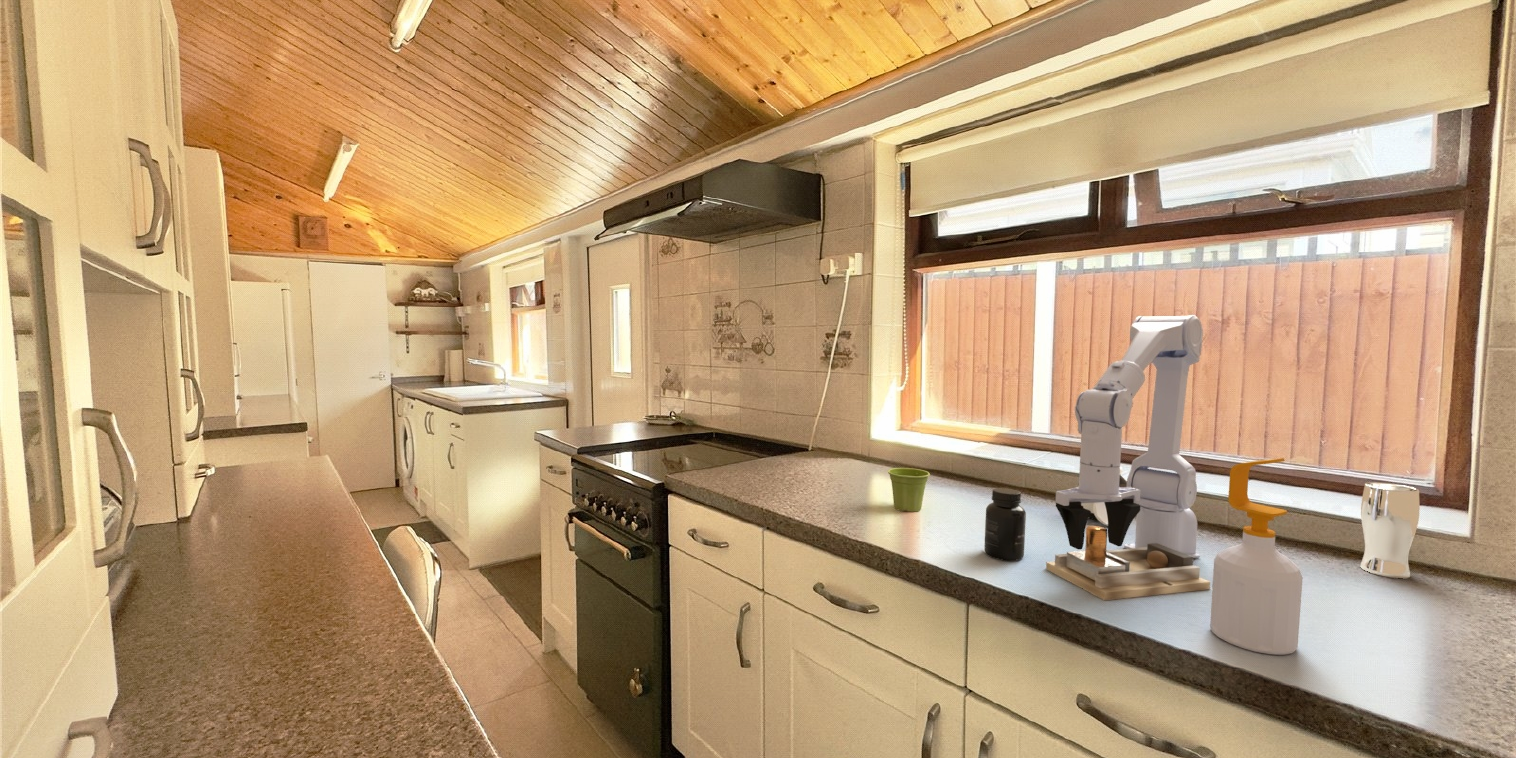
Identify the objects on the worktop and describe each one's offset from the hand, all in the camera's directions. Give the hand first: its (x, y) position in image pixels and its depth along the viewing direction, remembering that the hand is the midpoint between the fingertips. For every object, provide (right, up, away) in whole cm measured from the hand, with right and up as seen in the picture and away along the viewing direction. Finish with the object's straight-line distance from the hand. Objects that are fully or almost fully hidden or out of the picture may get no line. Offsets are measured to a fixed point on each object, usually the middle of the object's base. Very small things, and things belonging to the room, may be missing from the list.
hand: (1095, 545), depth 101 cm
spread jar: (+22, -4, +35) cm, 42 cm away
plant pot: (-20, -3, +43) cm, 47 cm away
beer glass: (+53, -6, +6) cm, 54 cm away
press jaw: (0, -5, 0) cm, 5 cm away
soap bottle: (+11, -8, -19) cm, 23 cm away
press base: (+6, -6, +2) cm, 9 cm away
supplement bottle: (-10, -5, +12) cm, 17 cm away
